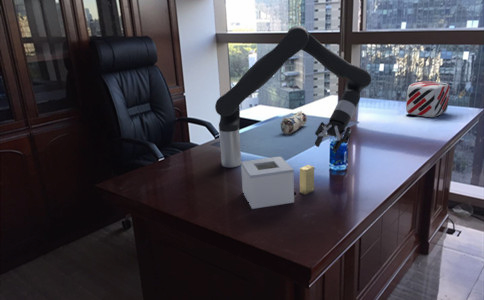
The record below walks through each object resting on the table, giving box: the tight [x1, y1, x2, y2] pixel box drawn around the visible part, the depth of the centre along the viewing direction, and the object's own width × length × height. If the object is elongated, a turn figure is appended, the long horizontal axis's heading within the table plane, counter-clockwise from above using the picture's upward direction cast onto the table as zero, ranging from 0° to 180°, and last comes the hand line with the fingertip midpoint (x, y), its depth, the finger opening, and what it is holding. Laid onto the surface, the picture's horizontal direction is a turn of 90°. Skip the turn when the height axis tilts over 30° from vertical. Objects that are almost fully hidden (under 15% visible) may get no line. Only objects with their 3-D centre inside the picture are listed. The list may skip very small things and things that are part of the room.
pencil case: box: [280, 110, 308, 135], centre depth 237 cm, size 22×8×10 cm, turn 150°
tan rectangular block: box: [299, 164, 315, 195], centre depth 154 cm, size 3×5×10 cm, turn 133°
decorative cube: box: [405, 80, 451, 118], centre depth 253 cm, size 20×20×20 cm
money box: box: [240, 156, 295, 210], centre depth 151 cm, size 15×16×13 cm
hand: (325, 148), depth 159 cm, fingers open, 8 cm apart
